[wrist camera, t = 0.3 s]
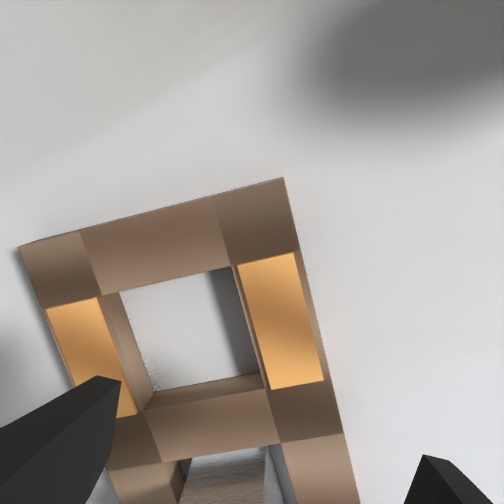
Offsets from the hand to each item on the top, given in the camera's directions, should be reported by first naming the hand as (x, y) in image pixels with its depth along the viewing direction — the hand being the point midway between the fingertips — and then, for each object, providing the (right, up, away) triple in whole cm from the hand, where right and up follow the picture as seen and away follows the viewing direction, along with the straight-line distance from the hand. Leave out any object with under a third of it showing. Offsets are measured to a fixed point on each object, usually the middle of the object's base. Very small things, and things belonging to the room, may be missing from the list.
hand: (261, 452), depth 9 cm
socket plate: (-2, -3, +11) cm, 12 cm away
